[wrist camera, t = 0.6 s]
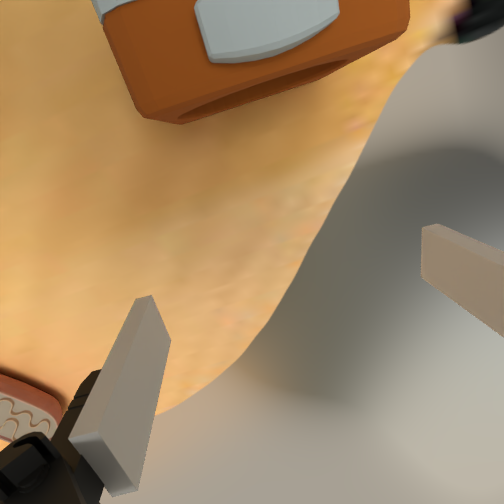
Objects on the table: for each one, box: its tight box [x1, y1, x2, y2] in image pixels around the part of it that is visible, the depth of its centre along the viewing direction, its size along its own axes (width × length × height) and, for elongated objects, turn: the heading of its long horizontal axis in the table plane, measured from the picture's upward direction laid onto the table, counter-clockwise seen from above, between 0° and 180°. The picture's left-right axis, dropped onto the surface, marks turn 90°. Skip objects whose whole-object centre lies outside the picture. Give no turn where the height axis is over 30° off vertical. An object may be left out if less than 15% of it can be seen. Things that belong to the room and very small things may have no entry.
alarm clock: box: [91, 0, 410, 124], centre depth 23 cm, size 18×9×20 cm, turn 107°
